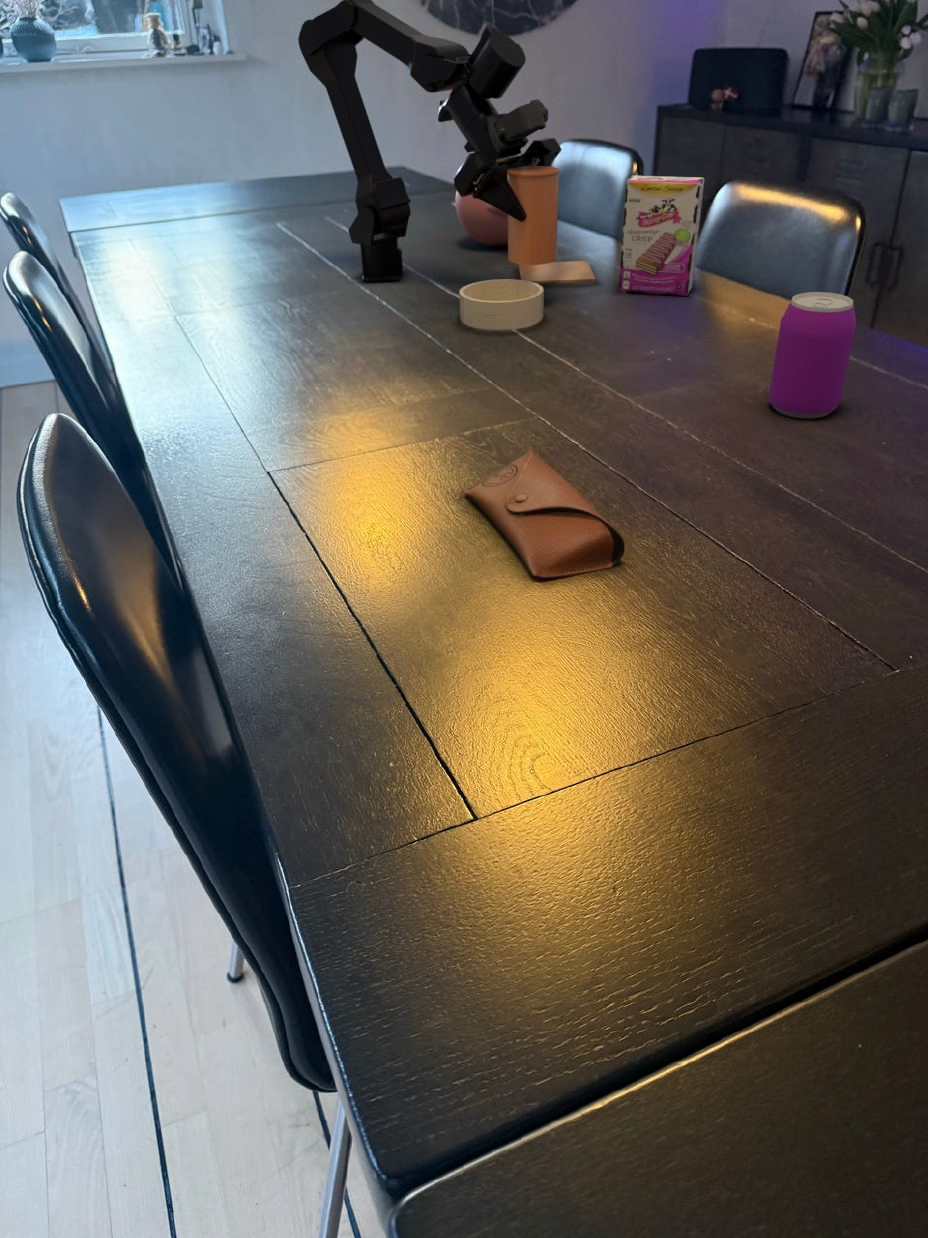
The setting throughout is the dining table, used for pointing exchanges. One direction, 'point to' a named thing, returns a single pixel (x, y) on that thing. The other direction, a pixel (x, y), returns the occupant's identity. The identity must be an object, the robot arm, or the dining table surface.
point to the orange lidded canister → (534, 215)
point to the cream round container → (501, 304)
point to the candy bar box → (660, 234)
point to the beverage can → (812, 354)
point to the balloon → (482, 220)
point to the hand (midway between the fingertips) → (540, 214)
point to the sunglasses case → (547, 520)
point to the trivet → (557, 272)
